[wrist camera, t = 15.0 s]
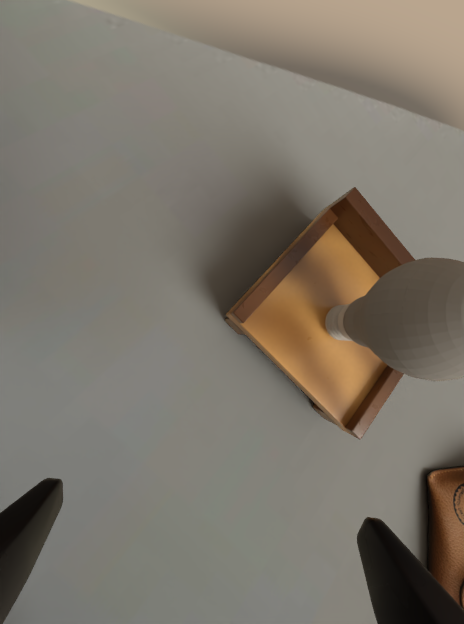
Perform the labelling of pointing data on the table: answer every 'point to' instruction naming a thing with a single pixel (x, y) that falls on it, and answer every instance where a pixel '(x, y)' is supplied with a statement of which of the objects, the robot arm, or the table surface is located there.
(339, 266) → the brown wooden tray
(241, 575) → the table surface
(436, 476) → the sunglasses case
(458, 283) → the light bulb
